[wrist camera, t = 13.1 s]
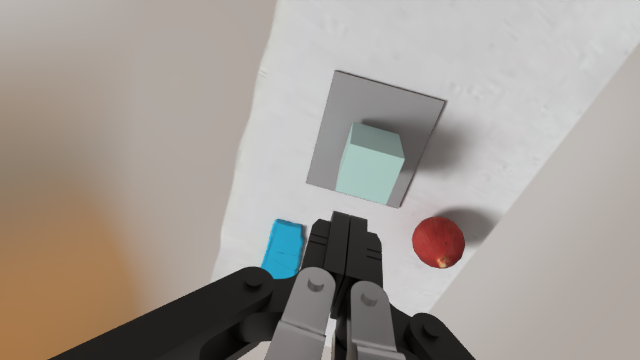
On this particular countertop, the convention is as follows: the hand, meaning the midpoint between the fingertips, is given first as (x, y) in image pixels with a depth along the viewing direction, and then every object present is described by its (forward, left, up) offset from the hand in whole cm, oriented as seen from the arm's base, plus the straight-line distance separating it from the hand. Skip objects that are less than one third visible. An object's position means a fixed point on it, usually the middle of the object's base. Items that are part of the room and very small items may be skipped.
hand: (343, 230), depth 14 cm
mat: (+5, +3, -25) cm, 25 cm away
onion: (+13, +14, -25) cm, 31 cm away
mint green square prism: (+5, +3, -23) cm, 24 cm away
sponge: (+25, -4, -25) cm, 36 cm away
